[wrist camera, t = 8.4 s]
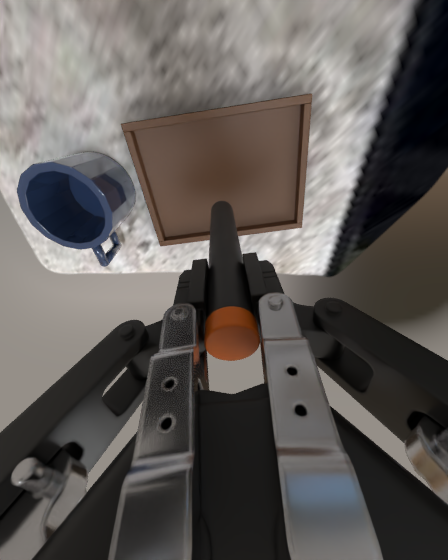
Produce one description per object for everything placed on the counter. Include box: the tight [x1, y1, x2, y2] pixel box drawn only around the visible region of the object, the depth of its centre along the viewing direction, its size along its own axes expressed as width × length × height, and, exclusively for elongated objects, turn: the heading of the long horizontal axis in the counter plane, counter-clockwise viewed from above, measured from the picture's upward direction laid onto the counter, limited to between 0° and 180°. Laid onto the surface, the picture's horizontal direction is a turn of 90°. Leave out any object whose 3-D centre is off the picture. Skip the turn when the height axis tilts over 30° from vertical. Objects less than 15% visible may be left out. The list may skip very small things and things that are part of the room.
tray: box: [121, 94, 312, 246], centre depth 30 cm, size 16×22×2 cm
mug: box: [17, 152, 135, 267], centre depth 29 cm, size 13×9×9 cm
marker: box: [204, 201, 260, 361], centre depth 15 cm, size 2×2×15 cm
